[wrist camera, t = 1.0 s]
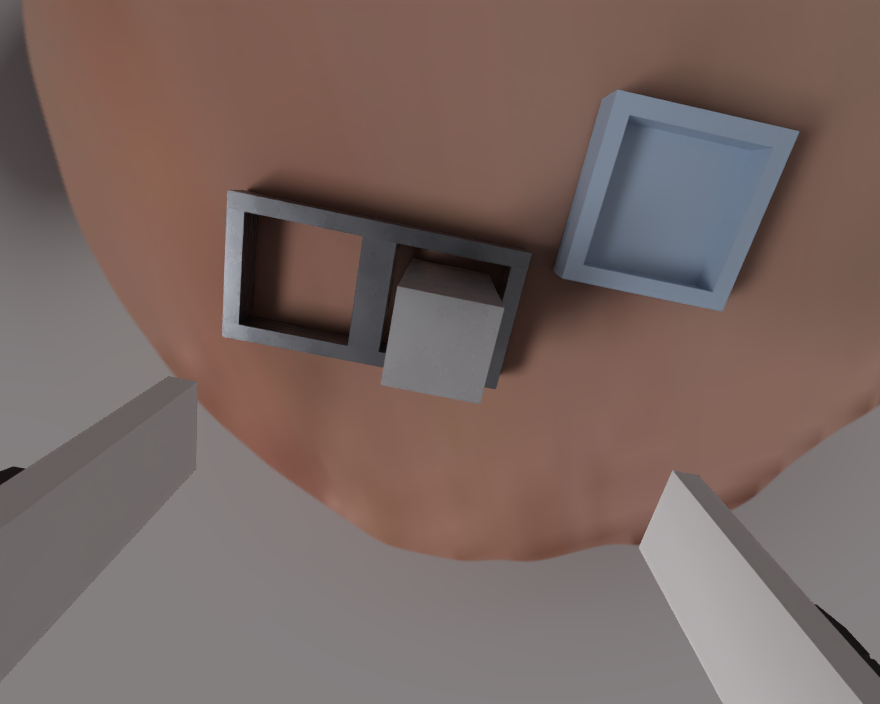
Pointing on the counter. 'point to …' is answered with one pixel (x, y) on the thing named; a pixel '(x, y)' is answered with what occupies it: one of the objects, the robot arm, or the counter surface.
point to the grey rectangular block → (442, 331)
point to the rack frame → (371, 278)
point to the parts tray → (670, 199)
